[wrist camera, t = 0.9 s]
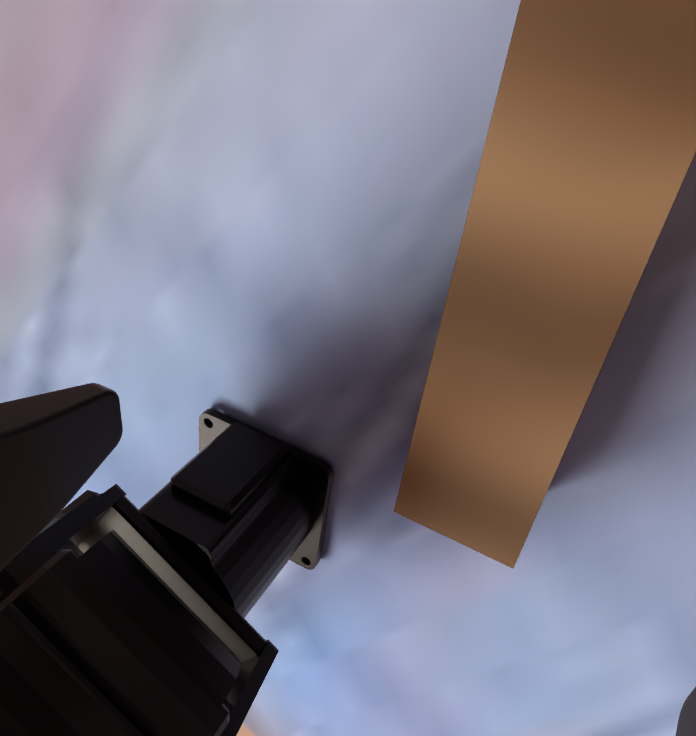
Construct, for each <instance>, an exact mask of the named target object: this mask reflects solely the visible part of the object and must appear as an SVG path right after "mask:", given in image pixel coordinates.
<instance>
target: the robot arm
mask: <svg viewBox="0 0 696 736" xmlns="http://www.w3.org/2000/svg"><path fill="white" fill-rule="evenodd" d="M121 436H122V420H121V411H120V402H119V397H118V395H117V393H116V392H115V391H113V390H111V389H109V388H107V387H104V386H102V385H100V384H96V383H90V384H85V385H81V386H76V387H72V388H67V389H63V390H58V391H54V392H49V393H45V394H40V395H36V396H31V397H26V398H22V399H17V400H13V401H8V402H4V403H0V736H236V735H237V733H238V731H239V729H240V727H241V725H242V723H243V721H244V719H245V717H246V715H247V713H248V711H249V709H250V707H251V705H252V703H253V701H254V699H255V697H256V695H257V693H258V691H259V689H260V687H261V685H262V683H263V681H264V679H265V677H266V675H267V673H268V671H269V669H270V667H271V665H272V663H273V661H274V659H275V657H276V655H277V653H278V649H277V648H276V647H275V646H274V645H273V644H272V643H271V642H270V641H269V640H267V641H266V640H265V639H264V638H263V637H262V636H261V635H260V634H259V633H258V632H257V631H256V630H255V629H254V628H253V627H252V626H251V625H250V624H249V623H248V622H247V621H246V620H245V619H244V618H245V617H246V615H247V614H248V613H249V611H250V610H251V609H252V607H253V606H254V605H255V604H256V602H257V601H258V600H259V598H260V597H261V596H262V594H263V593H264V592H265V590H266V589H267V588H268V587H269V585H270V584H271V583H272V581H273V580H274V579H275V577H276V576H277V575H278V573H279V572H280V571H281V570H282V568H283V567H284V566H285V564H286V563H287V562H288V560H291V561H293V562H295V563H296V564H298V565H300V566H302V567H304V568H306V569H311V570H312V569H314V568H315V567H316V565H317V564H318V563H319V561H320V556H321V549H322V543H323V536H324V530H325V523H326V517H327V511H328V504H329V498H330V491H331V485H332V478H333V469H332V467H331V466H330V465H329V463H327V462H326V461H324V460H322V459H320V458H318V457H316V456H314V455H312V454H309V453H307V452H305V451H303V450H301V449H299V448H296V447H294V446H292V445H290V444H288V443H285V442H283V441H281V440H279V439H277V438H275V437H272V436H270V435H268V434H266V433H264V432H262V431H259V430H257V429H255V428H253V427H251V426H249V425H246V424H244V423H242V422H240V421H238V420H236V419H233V418H231V417H229V416H227V415H225V414H223V413H220V412H218V411H216V410H214V409H207V410H206V411H205V412H203V413H202V414H201V415H200V417H199V453H198V454H197V455H196V456H195V457H194V458H193V459H191V460H190V461H189V462H188V463H187V464H186V465H185V466H184V467H182V468H181V469H180V470H179V471H178V472H177V473H176V474H175V475H173V476H172V478H171V481H170V482H169V483H168V484H167V485H166V486H165V487H163V488H162V489H161V490H160V491H159V492H158V493H157V494H156V495H155V496H153V497H152V498H151V499H150V500H149V501H148V502H147V503H146V504H144V505H143V506H142V507H141V508H140V509H139V510H138V509H137V508H136V507H135V506H134V505H133V504H132V503H131V502H130V501H129V500H128V499H127V498H126V497H125V495H126V493H125V492H124V491H123V490H122V489H121V488H120V487H119V486H118V485H117V484H115V485H114V486H113V487H111V488H110V489H108V490H107V491H106V492H104V493H101V494H98V493H95V492H92V491H89V490H87V491H86V492H84V493H83V494H82V495H81V496H79V497H78V498H77V499H76V500H74V501H73V502H72V503H71V504H69V505H68V506H67V507H66V508H64V507H65V506H66V505H67V504H68V502H69V501H70V500H71V499H72V498H73V496H74V495H75V494H76V493H77V492H78V491H79V489H80V488H81V487H82V486H83V485H84V483H85V482H86V481H87V480H88V479H89V478H90V476H91V475H92V474H93V473H94V472H95V470H96V469H97V468H98V467H99V466H100V465H101V463H102V462H103V461H104V460H105V459H106V457H107V456H108V455H109V454H110V453H111V452H112V450H113V449H114V448H115V447H116V446H117V444H118V443H119V441H120V439H121ZM319 471H320V472H321V473H320V472H319ZM63 508H64V509H63ZM62 509H63V510H62ZM61 510H62V511H61ZM676 736H696V687H695V688H694V689H693V691H692V692H691V693H690V695H689V696H688V697H687V699H686V700H685V702H684V704H683V707H682V709H681V712H680V716H679V720H678V726H677V731H676Z"/></svg>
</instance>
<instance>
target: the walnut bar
mask: <svg viewBox="0 0 696 736" xmlns="http://www.w3.org/2000/svg"><path fill="white" fill-rule="evenodd" d="M695 152H696V0H521V2H520V6H519V10H518V14H517V18H516V22H515V26H514V30H513V34H512V38H511V42H510V46H509V50H508V54H507V58H506V62H505V66H504V70H503V74H502V78H501V82H500V86H499V90H498V94H497V99H496V103H495V107H494V111H493V115H492V119H491V123H490V127H489V131H488V135H487V139H486V143H485V147H484V151H483V155H482V159H481V163H480V167H479V171H478V175H477V179H476V183H475V187H474V191H473V195H472V199H471V203H470V207H469V211H468V215H467V219H466V223H465V227H464V231H463V235H462V239H461V243H460V247H459V251H458V255H457V259H456V263H455V267H454V271H453V275H452V279H451V283H450V287H449V292H448V296H447V300H446V304H445V308H444V312H443V316H442V320H441V324H440V328H439V332H438V336H437V340H436V344H435V348H434V352H433V356H432V360H431V364H430V368H429V372H428V376H427V380H426V384H425V388H424V392H423V396H422V400H421V404H420V408H419V412H418V416H417V420H416V424H415V428H414V432H413V436H412V440H411V444H410V448H409V452H408V456H407V460H406V464H405V468H404V472H403V476H402V480H401V485H400V489H399V493H398V497H397V501H396V505H395V509H394V512H396V513H398V514H400V515H402V516H404V517H406V518H408V519H411V520H413V521H415V522H417V523H419V524H421V525H423V526H425V527H427V528H429V529H431V530H434V531H436V532H438V533H440V534H442V535H444V536H446V537H448V538H450V539H452V540H454V541H457V542H459V543H461V544H463V545H465V546H467V547H469V548H471V549H473V550H475V551H477V552H480V553H482V554H484V555H486V556H488V557H490V558H492V559H494V560H496V561H498V562H500V563H503V564H505V565H507V566H509V567H511V568H514V566H515V563H516V561H517V559H518V556H519V554H520V552H521V550H522V547H523V545H524V543H525V541H526V538H527V536H528V534H529V531H530V529H531V527H532V525H533V522H534V520H535V518H536V515H537V513H538V511H539V509H540V506H541V504H542V502H543V499H544V497H545V495H546V493H547V490H548V488H549V486H550V483H551V481H552V479H553V477H554V474H555V472H556V470H557V467H558V465H559V463H560V461H561V458H562V456H563V454H564V451H565V449H566V447H567V445H568V442H569V440H570V438H571V435H572V433H573V431H574V429H575V426H576V424H577V422H578V419H579V417H580V415H581V413H582V410H583V408H584V406H585V403H586V401H587V399H588V397H589V394H590V392H591V390H592V387H593V385H594V383H595V381H596V378H597V376H598V374H599V371H600V369H601V367H602V365H603V362H604V360H605V358H606V355H607V353H608V351H609V349H610V346H611V344H612V342H613V339H614V337H615V335H616V333H617V330H618V328H619V326H620V323H621V321H622V319H623V317H624V314H625V312H626V310H627V307H628V305H629V303H630V301H631V298H632V296H633V294H634V291H635V289H636V287H637V285H638V282H639V280H640V278H641V275H642V273H643V271H644V269H645V266H646V264H647V262H648V259H649V257H650V255H651V253H652V250H653V248H654V246H655V243H656V241H657V239H658V237H659V234H660V232H661V230H662V227H663V225H664V223H665V221H666V218H667V216H668V214H669V211H670V209H671V207H672V205H673V202H674V200H675V198H676V195H677V193H678V191H679V189H680V186H681V184H682V182H683V179H684V177H685V175H686V173H687V170H688V168H689V166H690V163H691V161H692V159H693V157H694V154H695Z"/></svg>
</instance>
